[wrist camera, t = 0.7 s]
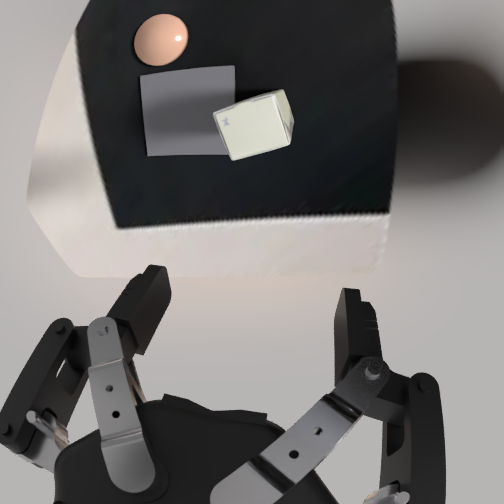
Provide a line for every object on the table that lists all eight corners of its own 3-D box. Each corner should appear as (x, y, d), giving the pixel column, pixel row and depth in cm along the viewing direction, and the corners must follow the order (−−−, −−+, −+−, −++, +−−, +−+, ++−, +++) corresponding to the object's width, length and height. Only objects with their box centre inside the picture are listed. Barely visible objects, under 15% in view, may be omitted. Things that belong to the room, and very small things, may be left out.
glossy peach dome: (137, 21, 27) (133, 20, 26) (187, 10, 25) (185, 9, 25) (138, 69, 30) (135, 69, 30) (189, 61, 29) (186, 61, 29)
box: (254, 133, 34) (227, 164, 23) (242, 99, 31) (207, 113, 21) (297, 121, 32) (291, 146, 21) (285, 86, 30) (273, 91, 19)
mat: (142, 76, 31) (140, 76, 30) (234, 65, 29) (233, 65, 29) (150, 154, 37) (147, 156, 37) (236, 153, 35) (235, 154, 35)
